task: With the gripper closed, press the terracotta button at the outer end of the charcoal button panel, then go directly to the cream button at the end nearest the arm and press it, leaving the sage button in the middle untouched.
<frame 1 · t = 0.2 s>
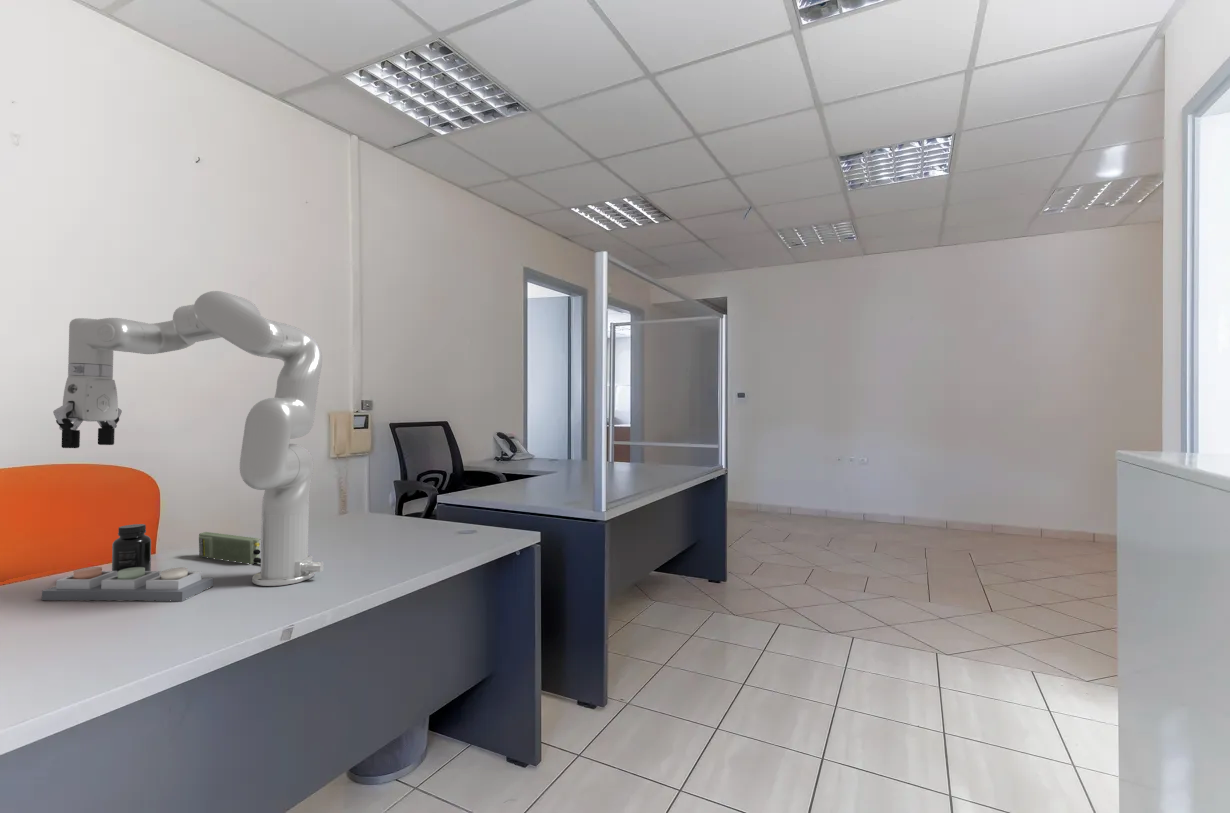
hand: (88, 446, 126), 30 cm above the table, tool pointing down, fingers open, 9 cm apart
sage button: (131, 574, 116), point 4 cm above the table, slide at 0.0 cm
supplement bottle: (131, 578, 127), on the table
terracotta button: (87, 574, 116), point 4 cm above the table, slide at 0.0 cm
button panel: (130, 593, 116), on the table
handheld radio: (236, 562, 142), on the table
cream button: (174, 574, 117), point 4 cm above the table, slide at 0.0 cm
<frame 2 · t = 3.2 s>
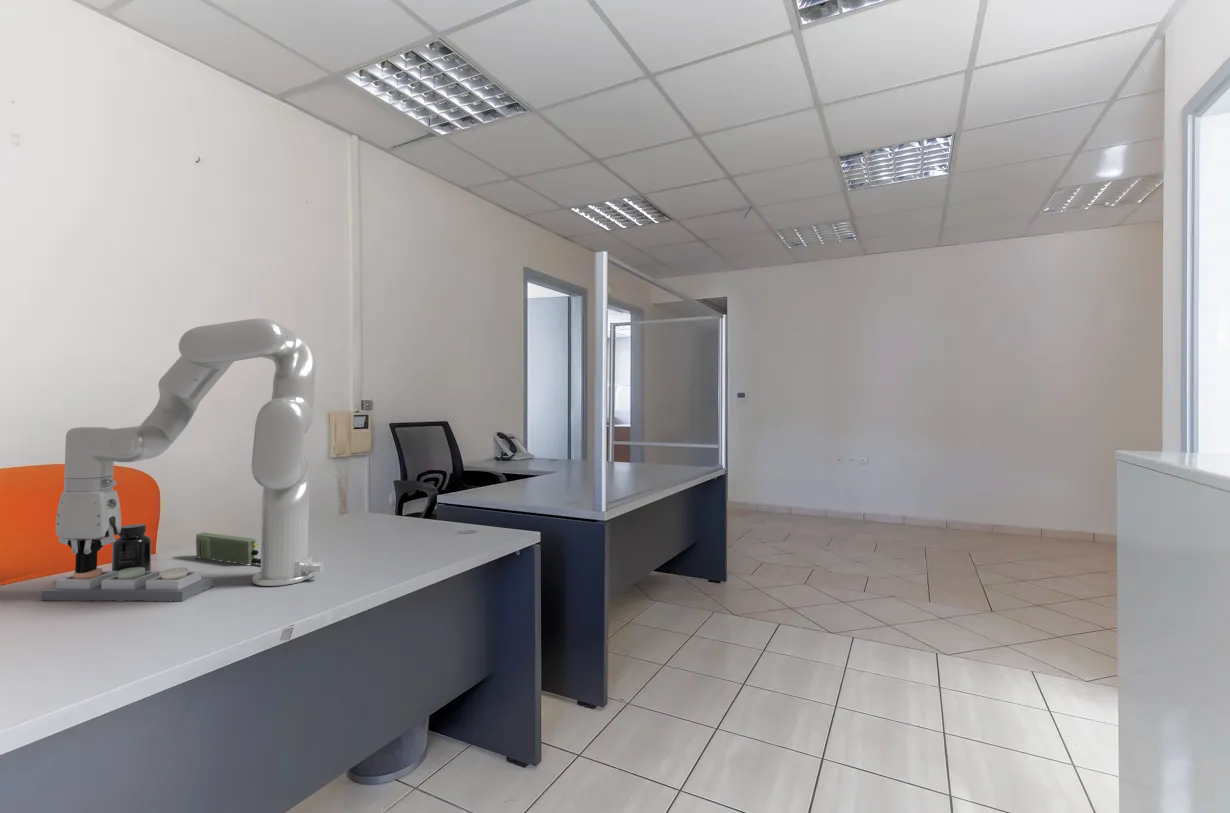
hand: (86, 570, 116), 5 cm above the table, tool pointing down, fingers closed
terracotta button: (87, 575, 116), point 4 cm above the table, slide at 0.3 cm, touching gripper
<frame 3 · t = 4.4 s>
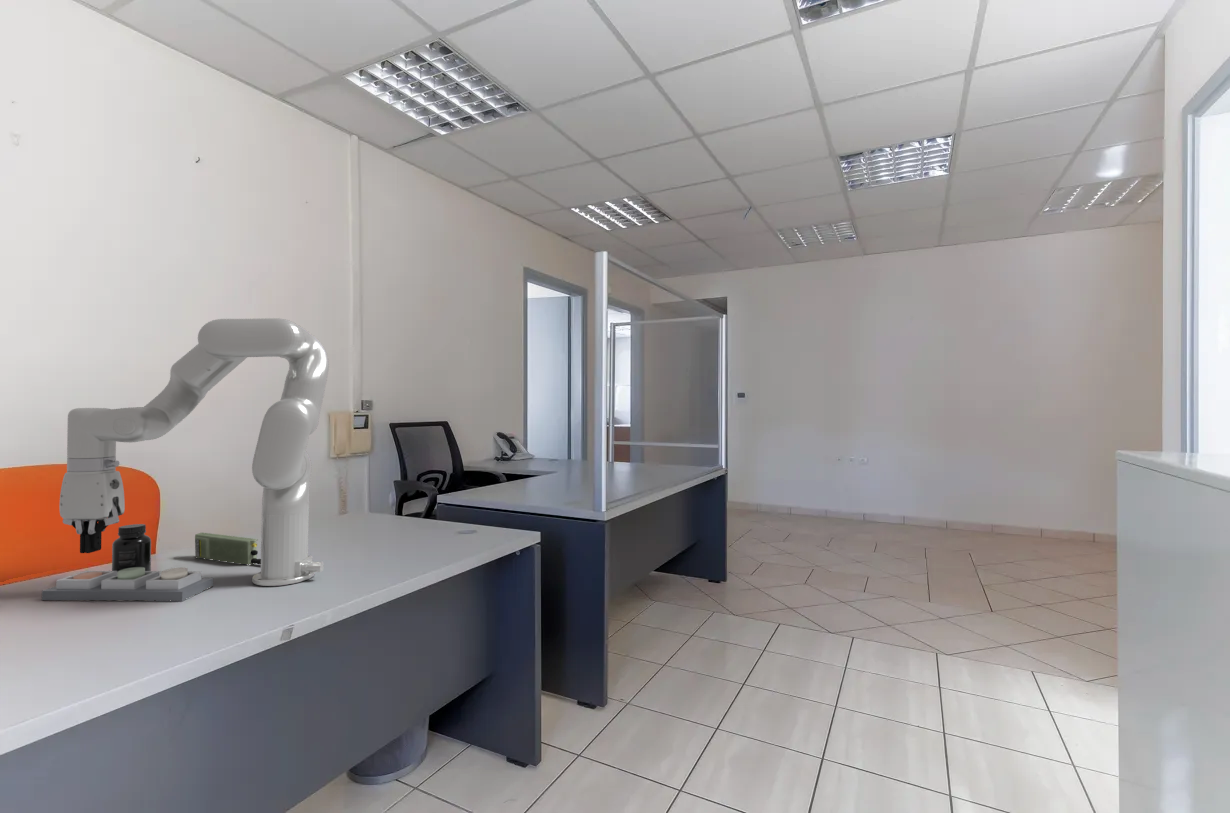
hand: (90, 551, 116), 9 cm above the table, tool pointing down, fingers closed
terracotta button: (87, 578, 116), point 3 cm above the table, slide at 1.0 cm
everything else where it was.
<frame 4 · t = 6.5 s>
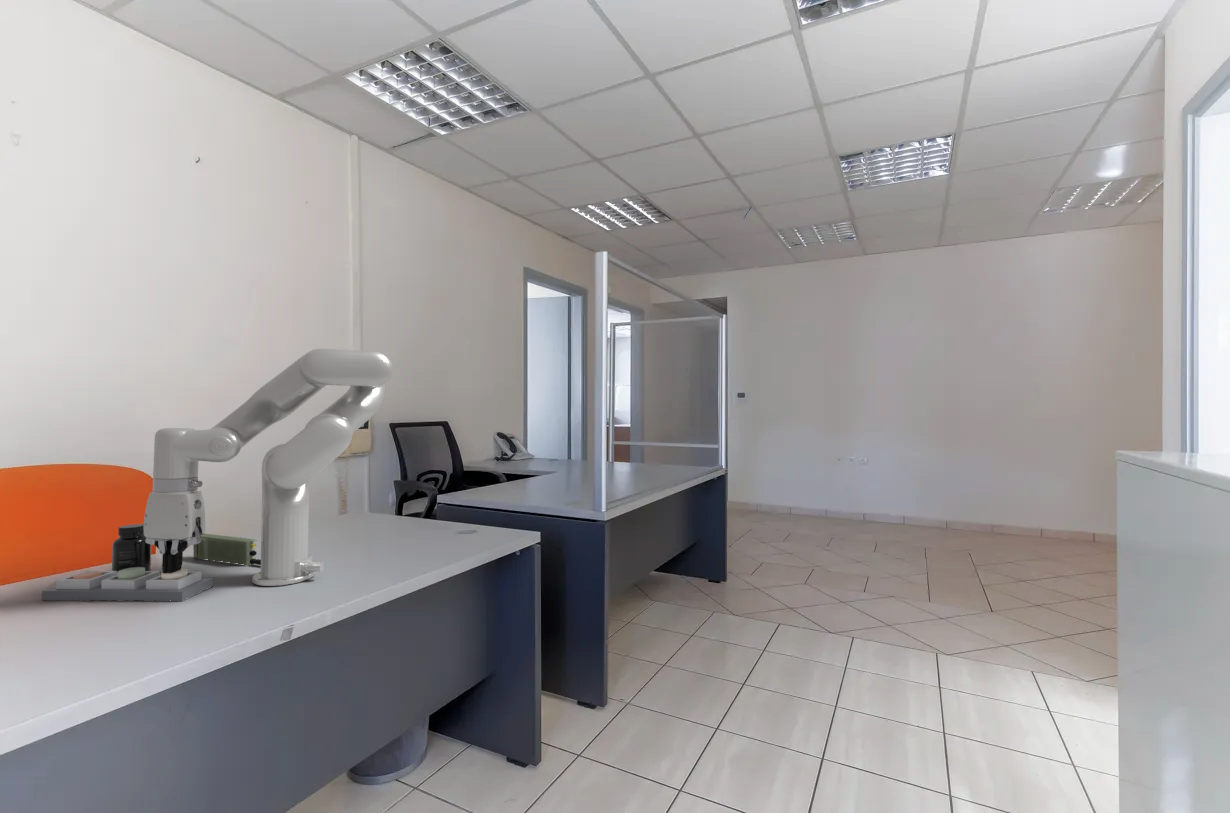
hand: (172, 571, 117), 5 cm above the table, tool pointing down, fingers closed
cream button: (174, 575, 117), point 4 cm above the table, slide at 0.2 cm, touching gripper
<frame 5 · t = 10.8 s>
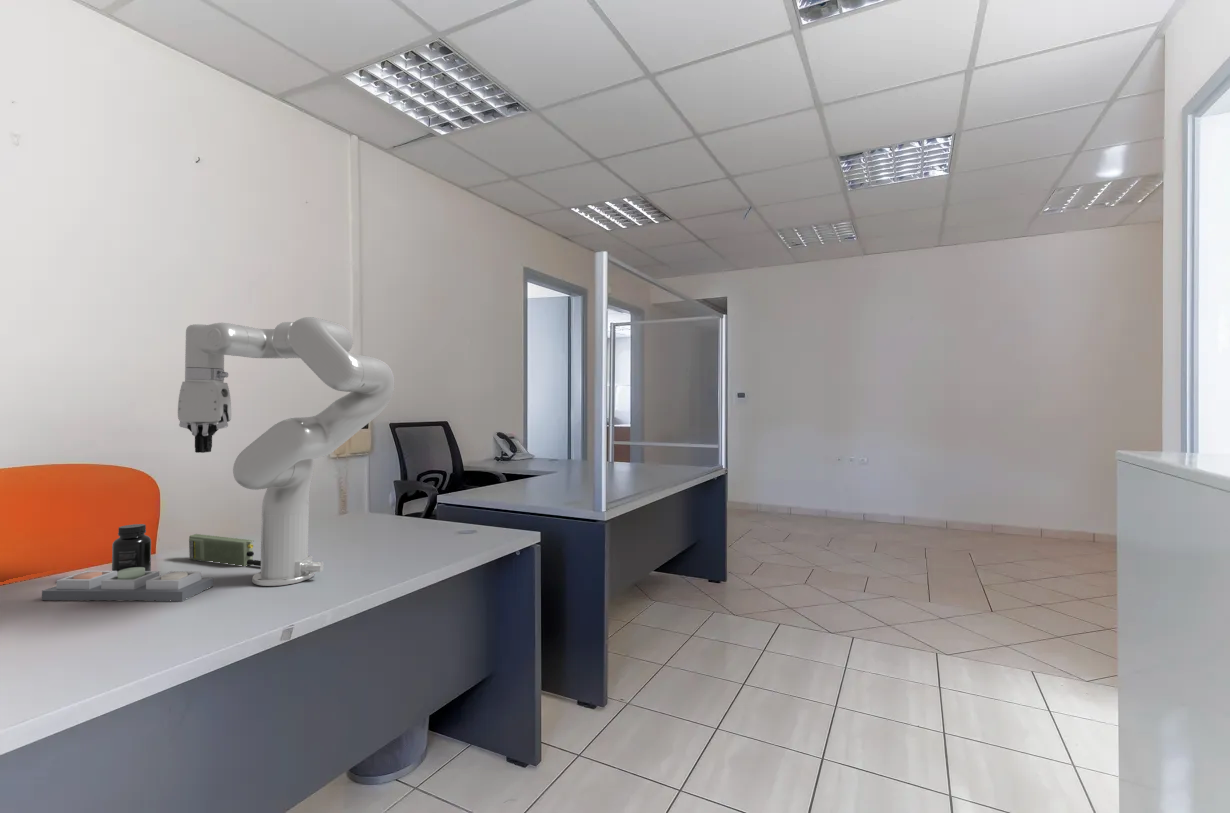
hand: (203, 452, 132), 29 cm above the table, tool pointing down, fingers closed
cream button: (174, 579, 117), point 3 cm above the table, slide at 1.0 cm
at the end: terracotta button slide at 1.0 cm; cream button slide at 1.0 cm; sage button slide at 0.0 cm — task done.
